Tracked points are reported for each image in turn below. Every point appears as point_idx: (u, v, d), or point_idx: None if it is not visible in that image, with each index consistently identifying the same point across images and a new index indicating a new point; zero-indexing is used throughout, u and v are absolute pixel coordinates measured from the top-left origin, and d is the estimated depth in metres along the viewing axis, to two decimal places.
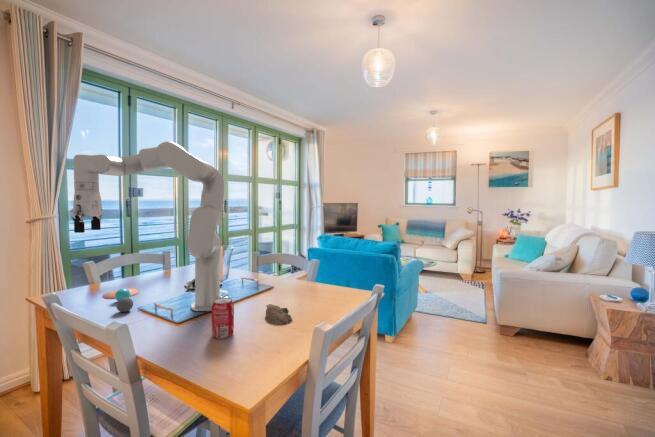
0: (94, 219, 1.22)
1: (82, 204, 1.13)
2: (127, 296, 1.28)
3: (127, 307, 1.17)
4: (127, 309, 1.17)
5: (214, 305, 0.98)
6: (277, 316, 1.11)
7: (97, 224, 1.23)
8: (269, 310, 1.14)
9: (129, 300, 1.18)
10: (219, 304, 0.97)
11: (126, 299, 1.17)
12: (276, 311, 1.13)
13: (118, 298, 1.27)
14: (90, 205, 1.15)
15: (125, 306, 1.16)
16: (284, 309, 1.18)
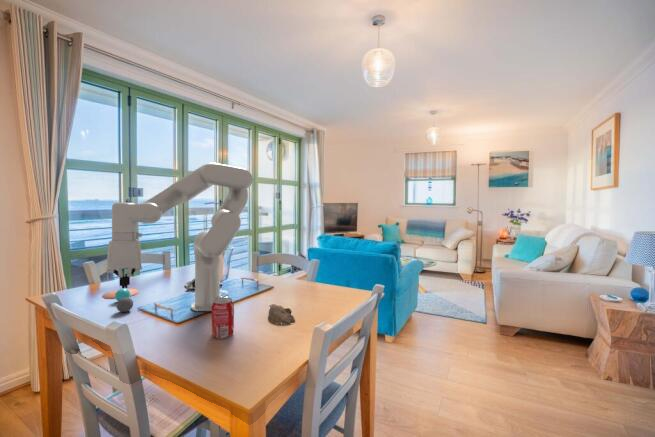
0: None
1: None
2: (127, 296, 1.28)
3: (127, 307, 1.17)
4: (127, 309, 1.17)
5: (214, 305, 0.98)
6: (279, 316, 1.11)
7: None
8: (271, 310, 1.14)
9: (129, 300, 1.18)
10: (219, 304, 0.97)
11: (126, 299, 1.17)
12: (279, 311, 1.13)
13: (118, 298, 1.27)
14: None
15: (125, 306, 1.16)
16: (287, 309, 1.17)
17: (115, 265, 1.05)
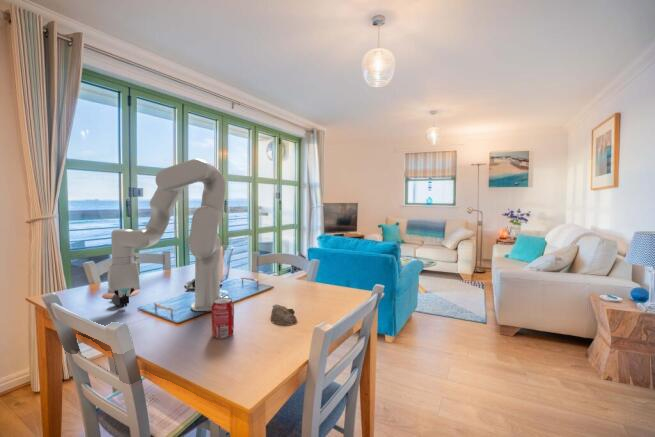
0: None
1: None
2: None
3: None
4: None
5: (214, 305, 0.98)
6: (282, 317, 1.11)
7: (123, 299, 1.21)
8: (274, 310, 1.14)
9: None
10: (219, 304, 0.97)
11: None
12: (281, 312, 1.13)
13: None
14: None
15: None
16: (290, 310, 1.17)
17: (115, 286, 1.17)
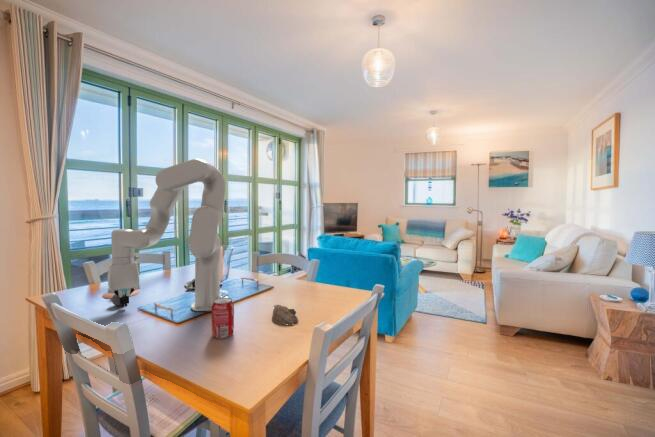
0: None
1: None
2: None
3: None
4: None
5: (214, 305, 0.98)
6: (283, 317, 1.11)
7: (123, 299, 1.21)
8: (275, 310, 1.14)
9: None
10: (219, 304, 0.97)
11: None
12: (282, 312, 1.13)
13: None
14: None
15: None
16: (291, 310, 1.17)
17: (115, 286, 1.17)
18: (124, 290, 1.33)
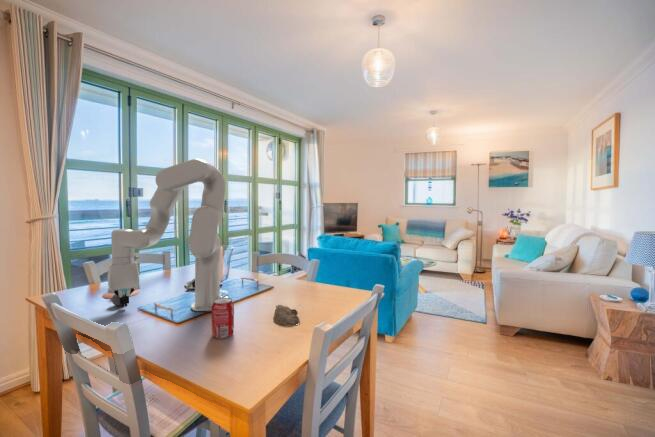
0: None
1: None
2: None
3: None
4: None
5: (214, 305, 0.98)
6: (284, 317, 1.10)
7: (123, 299, 1.21)
8: (277, 310, 1.14)
9: None
10: (219, 304, 0.97)
11: None
12: (284, 312, 1.13)
13: None
14: None
15: None
16: (293, 310, 1.17)
17: (115, 286, 1.17)
18: (124, 290, 1.33)
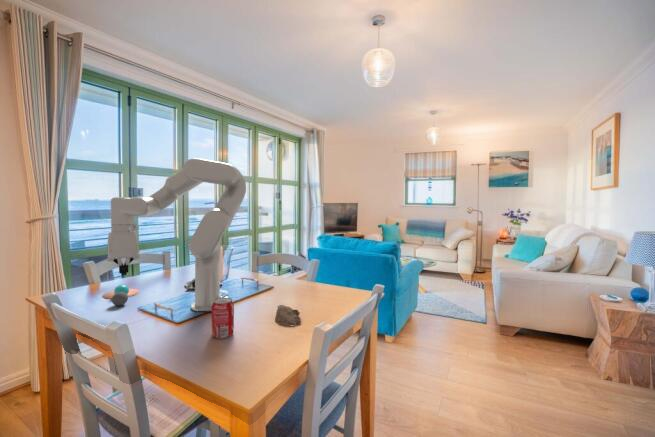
0: None
1: None
2: None
3: None
4: None
5: (214, 305, 0.98)
6: (285, 317, 1.10)
7: None
8: (278, 310, 1.13)
9: None
10: (219, 304, 0.97)
11: None
12: (285, 312, 1.12)
13: None
14: None
15: None
16: (295, 311, 1.16)
17: (115, 254, 1.16)
18: (124, 290, 1.33)
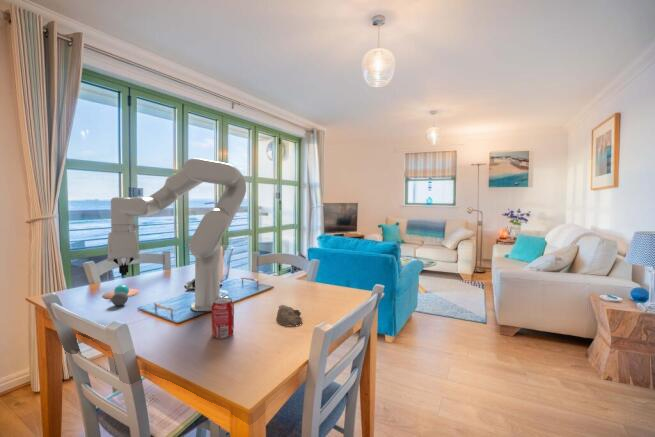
0: None
1: None
2: None
3: None
4: None
5: (214, 305, 0.98)
6: (286, 318, 1.10)
7: None
8: (279, 311, 1.13)
9: None
10: (219, 304, 0.97)
11: None
12: (286, 313, 1.12)
13: None
14: None
15: None
16: (296, 311, 1.16)
17: (115, 254, 1.16)
18: (124, 290, 1.33)
